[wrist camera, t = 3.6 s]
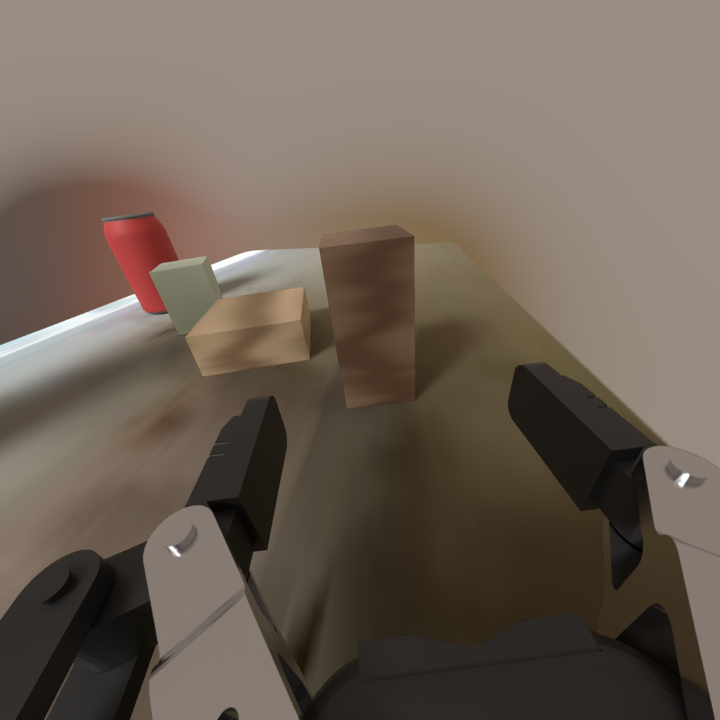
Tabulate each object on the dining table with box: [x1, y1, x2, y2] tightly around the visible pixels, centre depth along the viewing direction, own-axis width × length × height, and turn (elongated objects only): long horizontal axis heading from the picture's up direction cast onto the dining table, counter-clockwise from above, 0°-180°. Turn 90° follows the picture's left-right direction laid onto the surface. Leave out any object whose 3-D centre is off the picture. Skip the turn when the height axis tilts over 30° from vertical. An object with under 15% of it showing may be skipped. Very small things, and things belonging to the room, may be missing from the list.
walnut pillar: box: [319, 225, 415, 409], centre depth 18 cm, size 4×4×10 cm
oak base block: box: [185, 287, 311, 376], centre depth 27 cm, size 9×9×4 cm
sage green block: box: [149, 256, 223, 335], centre depth 33 cm, size 5×5×7 cm
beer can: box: [101, 212, 179, 314], centre depth 39 cm, size 7×7×12 cm
